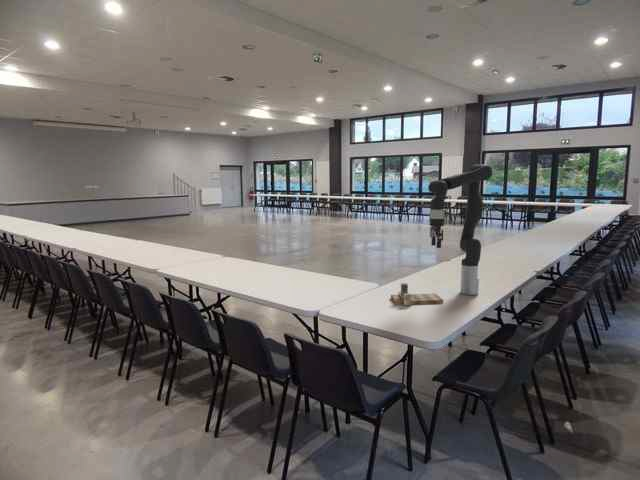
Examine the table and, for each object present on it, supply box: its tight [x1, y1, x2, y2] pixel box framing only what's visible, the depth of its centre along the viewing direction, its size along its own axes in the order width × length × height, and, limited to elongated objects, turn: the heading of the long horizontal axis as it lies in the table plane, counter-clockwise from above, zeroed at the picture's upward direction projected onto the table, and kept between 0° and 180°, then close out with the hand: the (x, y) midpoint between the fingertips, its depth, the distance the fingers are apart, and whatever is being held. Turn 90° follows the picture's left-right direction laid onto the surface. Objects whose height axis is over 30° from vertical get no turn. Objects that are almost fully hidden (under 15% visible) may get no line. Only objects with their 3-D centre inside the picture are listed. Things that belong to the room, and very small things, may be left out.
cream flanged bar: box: [397, 282, 413, 306], centre depth 225 cm, size 4×15×10 cm, turn 3°
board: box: [390, 293, 444, 306], centre depth 227 cm, size 26×12×2 cm, turn 93°
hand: (436, 246), depth 225 cm, fingers open, 8 cm apart
